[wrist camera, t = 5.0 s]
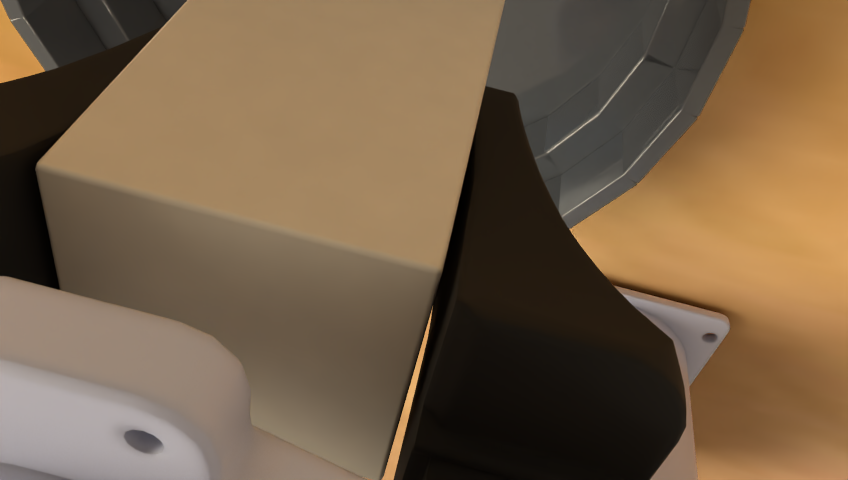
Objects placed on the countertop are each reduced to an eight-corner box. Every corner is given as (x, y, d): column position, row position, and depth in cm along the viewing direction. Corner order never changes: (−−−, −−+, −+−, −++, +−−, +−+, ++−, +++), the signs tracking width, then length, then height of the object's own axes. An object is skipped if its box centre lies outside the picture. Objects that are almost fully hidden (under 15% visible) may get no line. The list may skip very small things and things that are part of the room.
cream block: (460, 157, 17) (380, 484, 11) (264, 106, 17) (81, 405, 11) (513, -37, 14) (442, 272, 8) (275, -98, 14) (30, 164, 8)
